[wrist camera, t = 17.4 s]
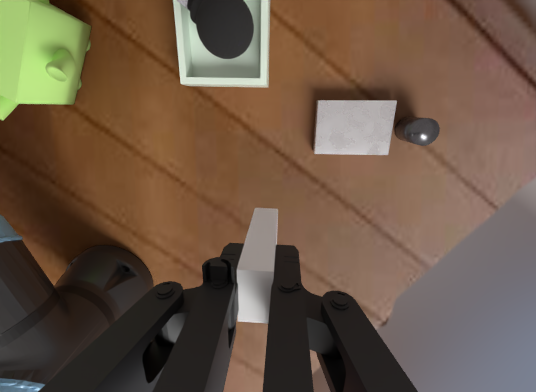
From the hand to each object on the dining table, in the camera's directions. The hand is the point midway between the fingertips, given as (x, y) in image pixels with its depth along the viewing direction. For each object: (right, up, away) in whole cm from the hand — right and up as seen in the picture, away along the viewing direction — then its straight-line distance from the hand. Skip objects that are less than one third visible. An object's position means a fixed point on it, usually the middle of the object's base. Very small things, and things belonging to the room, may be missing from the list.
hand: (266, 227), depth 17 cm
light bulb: (-6, +23, +14) cm, 28 cm away
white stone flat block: (+12, +12, +19) cm, 26 cm away
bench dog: (+20, +12, +18) cm, 29 cm away
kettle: (-28, +22, +18) cm, 40 cm away
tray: (-5, +22, +16) cm, 28 cm away
